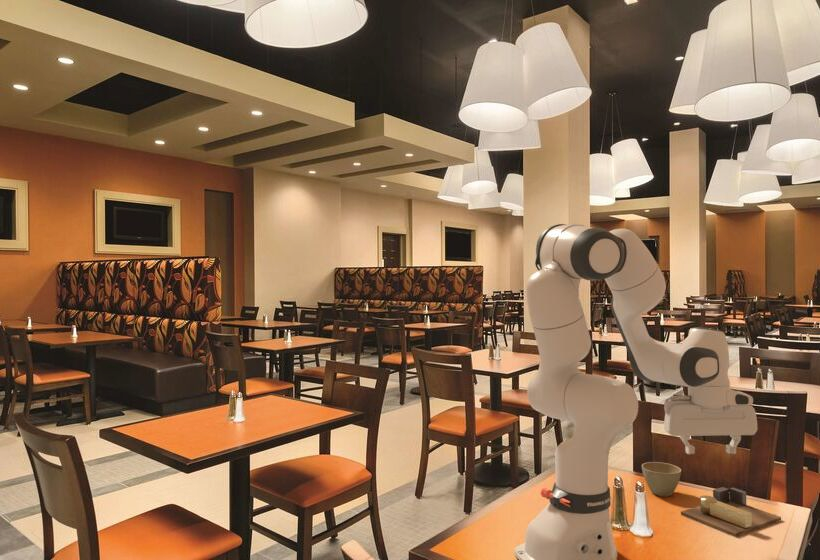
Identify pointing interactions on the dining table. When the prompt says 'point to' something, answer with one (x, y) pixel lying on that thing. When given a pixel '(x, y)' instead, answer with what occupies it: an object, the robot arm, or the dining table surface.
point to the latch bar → (725, 511)
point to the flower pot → (661, 477)
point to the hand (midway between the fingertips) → (710, 453)
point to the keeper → (735, 495)
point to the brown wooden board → (758, 521)
